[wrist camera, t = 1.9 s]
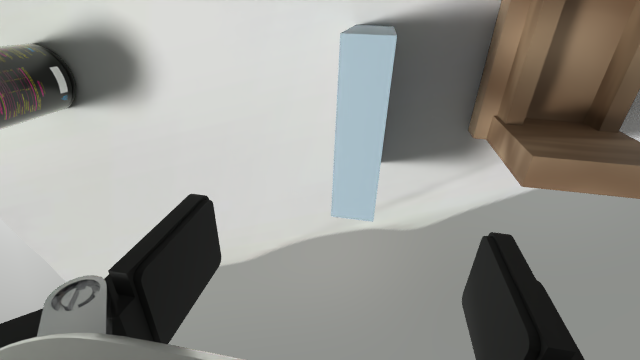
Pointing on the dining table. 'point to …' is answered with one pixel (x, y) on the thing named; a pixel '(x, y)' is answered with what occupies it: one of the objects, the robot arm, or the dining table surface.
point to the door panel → (361, 118)
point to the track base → (563, 94)
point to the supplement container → (32, 84)
